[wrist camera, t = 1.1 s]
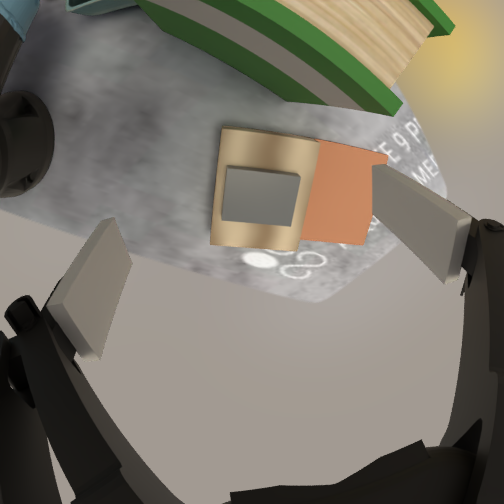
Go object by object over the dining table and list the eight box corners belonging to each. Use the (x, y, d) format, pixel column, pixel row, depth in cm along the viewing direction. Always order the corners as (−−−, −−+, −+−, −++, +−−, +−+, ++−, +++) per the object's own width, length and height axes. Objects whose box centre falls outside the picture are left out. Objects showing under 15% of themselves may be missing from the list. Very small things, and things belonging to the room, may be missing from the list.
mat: (293, 237, 42) (294, 239, 41) (314, 138, 35) (315, 138, 35) (362, 244, 43) (363, 245, 43) (387, 155, 37) (388, 155, 36)
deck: (210, 230, 40) (210, 244, 36) (222, 125, 33) (222, 128, 30) (290, 237, 42) (297, 251, 38) (310, 137, 35) (320, 142, 31)
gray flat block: (221, 215, 35) (221, 220, 33) (227, 164, 32) (227, 168, 30) (288, 221, 36) (290, 226, 34) (297, 173, 33) (301, 177, 32)
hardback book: (320, 57, 30) (455, 26, 9) (286, 101, 32) (393, 116, 12) (198, -15, 24) (173, -136, 3) (162, 30, 26) (77, -53, 6)
